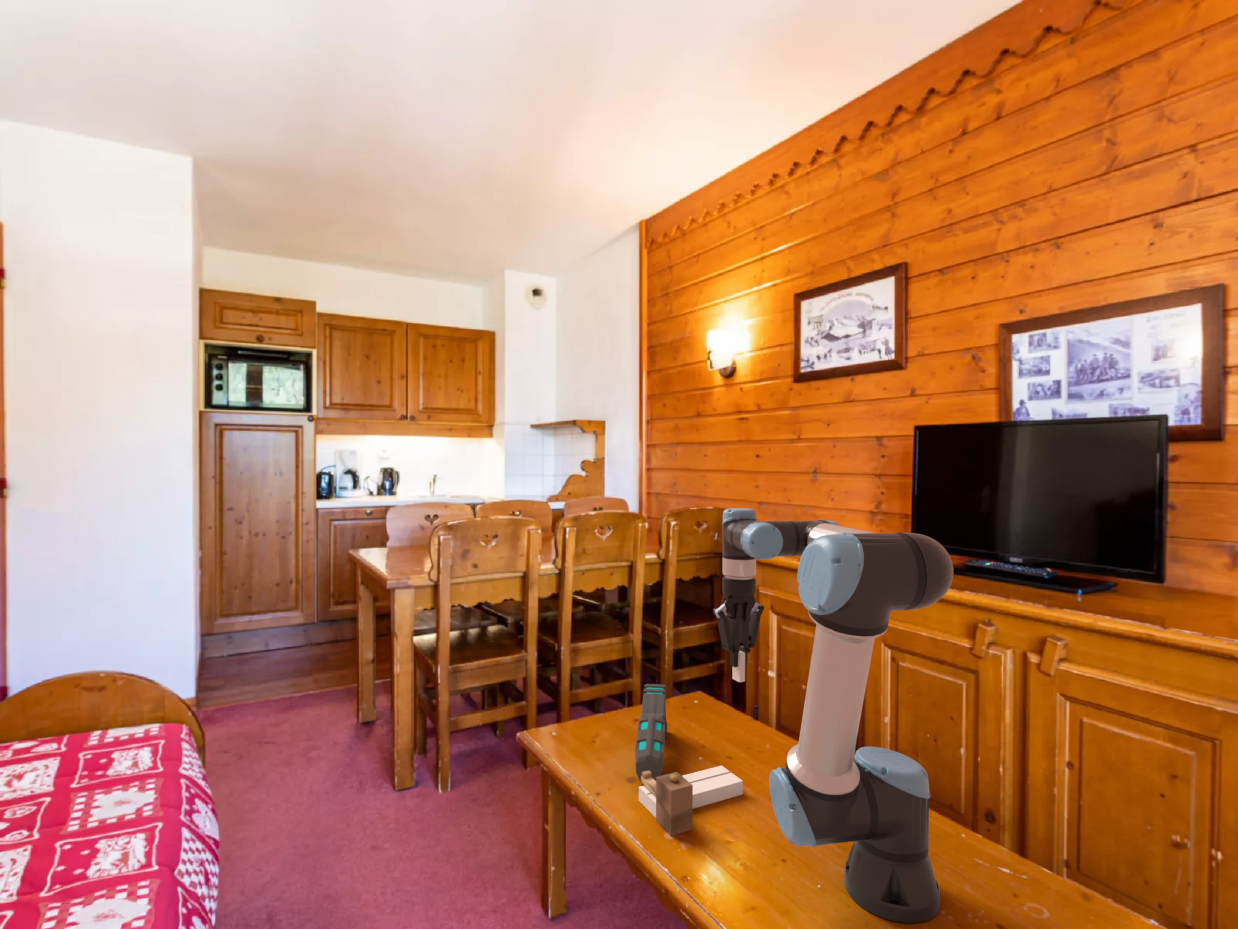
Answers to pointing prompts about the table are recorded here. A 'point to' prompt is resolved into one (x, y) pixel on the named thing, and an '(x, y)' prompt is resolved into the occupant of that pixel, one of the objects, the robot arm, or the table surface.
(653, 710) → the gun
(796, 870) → the table surface
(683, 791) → the brown wooden clamp
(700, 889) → the table surface
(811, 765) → the robot arm
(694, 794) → the board
